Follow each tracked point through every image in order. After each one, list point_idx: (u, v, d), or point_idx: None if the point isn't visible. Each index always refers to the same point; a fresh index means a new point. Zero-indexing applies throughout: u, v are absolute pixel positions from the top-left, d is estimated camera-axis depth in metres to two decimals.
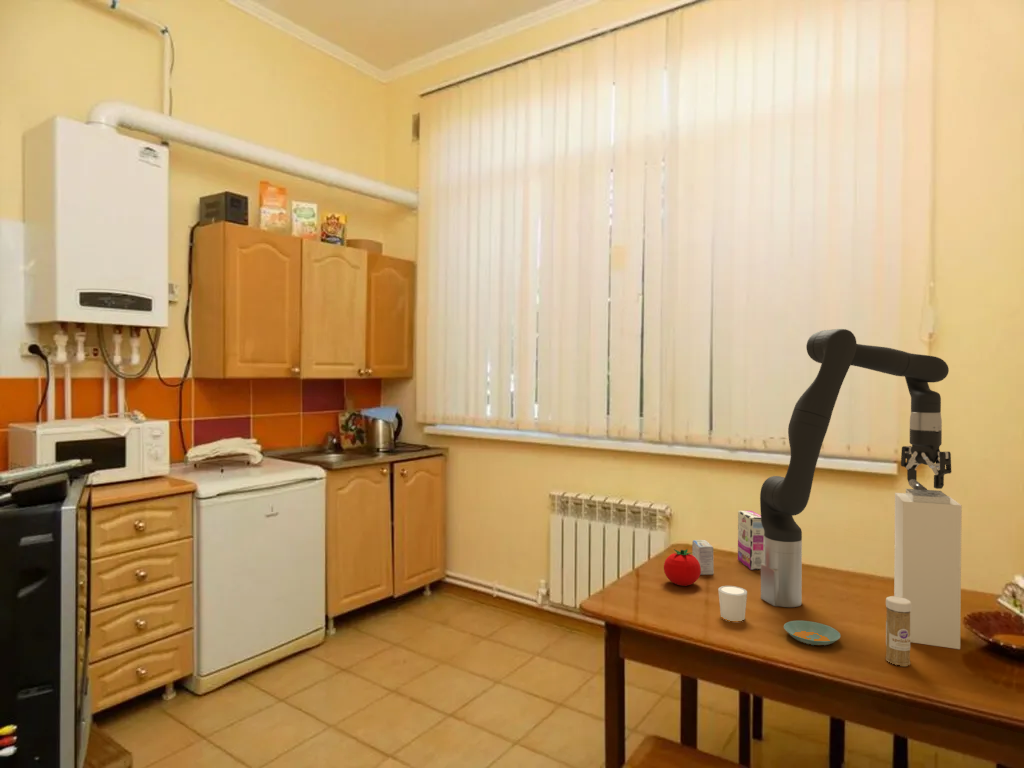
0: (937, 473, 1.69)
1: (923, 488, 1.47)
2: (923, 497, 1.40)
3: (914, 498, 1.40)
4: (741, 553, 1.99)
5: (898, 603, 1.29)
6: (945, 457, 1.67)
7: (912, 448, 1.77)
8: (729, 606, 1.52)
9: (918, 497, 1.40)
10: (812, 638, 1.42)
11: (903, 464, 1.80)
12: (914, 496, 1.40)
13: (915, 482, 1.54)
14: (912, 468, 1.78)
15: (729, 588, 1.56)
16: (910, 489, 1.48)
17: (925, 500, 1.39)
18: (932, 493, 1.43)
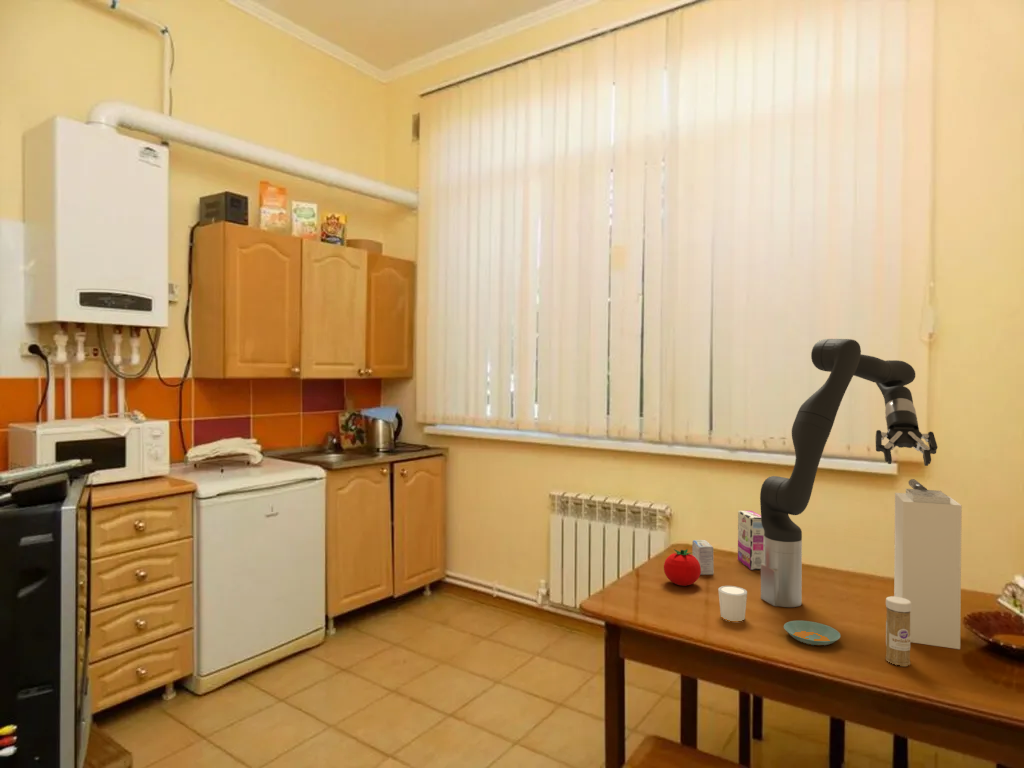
0: (929, 448, 1.67)
1: (923, 488, 1.47)
2: (923, 497, 1.40)
3: (914, 498, 1.40)
4: (741, 553, 1.99)
5: (898, 603, 1.29)
6: None
7: (890, 431, 1.74)
8: (729, 606, 1.52)
9: (918, 497, 1.40)
10: (812, 638, 1.42)
11: (880, 444, 1.72)
12: (914, 496, 1.40)
13: (915, 482, 1.54)
14: None
15: (729, 588, 1.56)
16: (910, 489, 1.48)
17: (925, 500, 1.39)
18: (932, 493, 1.43)
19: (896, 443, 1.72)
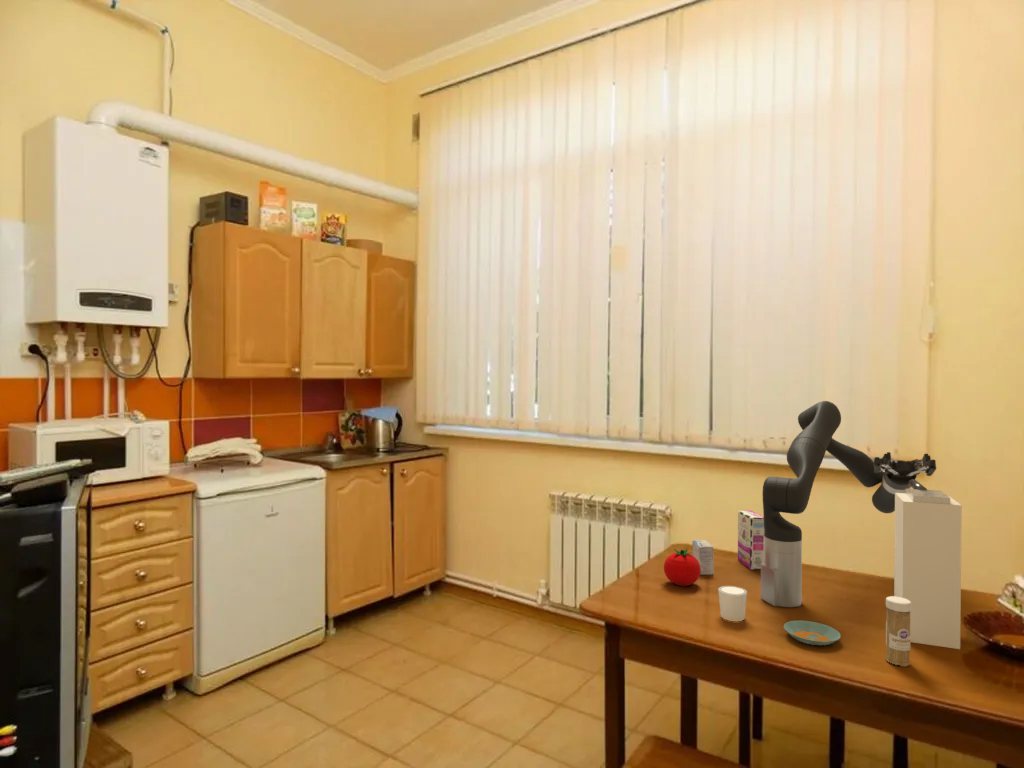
0: None
1: (923, 488, 1.47)
2: (923, 497, 1.40)
3: (914, 498, 1.40)
4: (741, 553, 1.99)
5: (898, 603, 1.29)
6: None
7: None
8: (729, 606, 1.52)
9: (918, 497, 1.40)
10: (812, 638, 1.42)
11: None
12: (914, 496, 1.40)
13: (915, 482, 1.54)
14: None
15: (729, 588, 1.56)
16: (910, 489, 1.48)
17: (925, 500, 1.39)
18: (932, 493, 1.43)
19: (894, 463, 1.71)
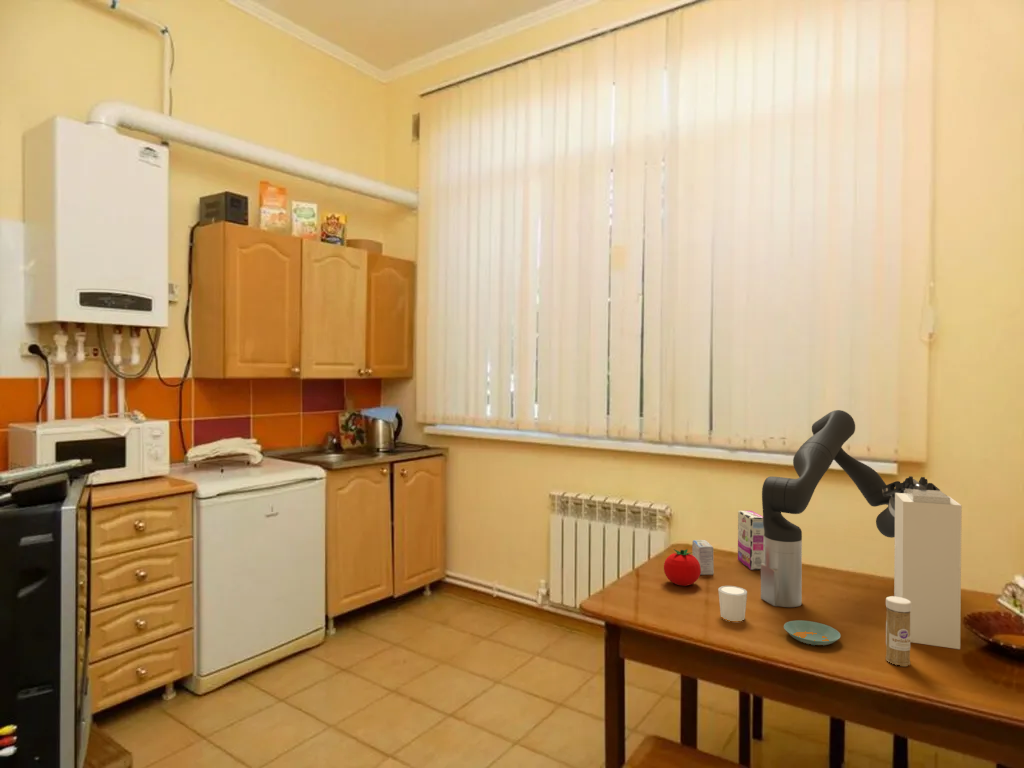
0: None
1: (923, 488, 1.47)
2: (923, 497, 1.40)
3: (914, 498, 1.40)
4: (741, 553, 1.99)
5: (898, 603, 1.29)
6: None
7: None
8: (729, 606, 1.52)
9: (918, 497, 1.40)
10: (812, 638, 1.42)
11: None
12: (914, 496, 1.40)
13: (915, 482, 1.54)
14: None
15: (729, 588, 1.56)
16: (910, 489, 1.48)
17: (925, 500, 1.39)
18: (932, 493, 1.43)
19: None
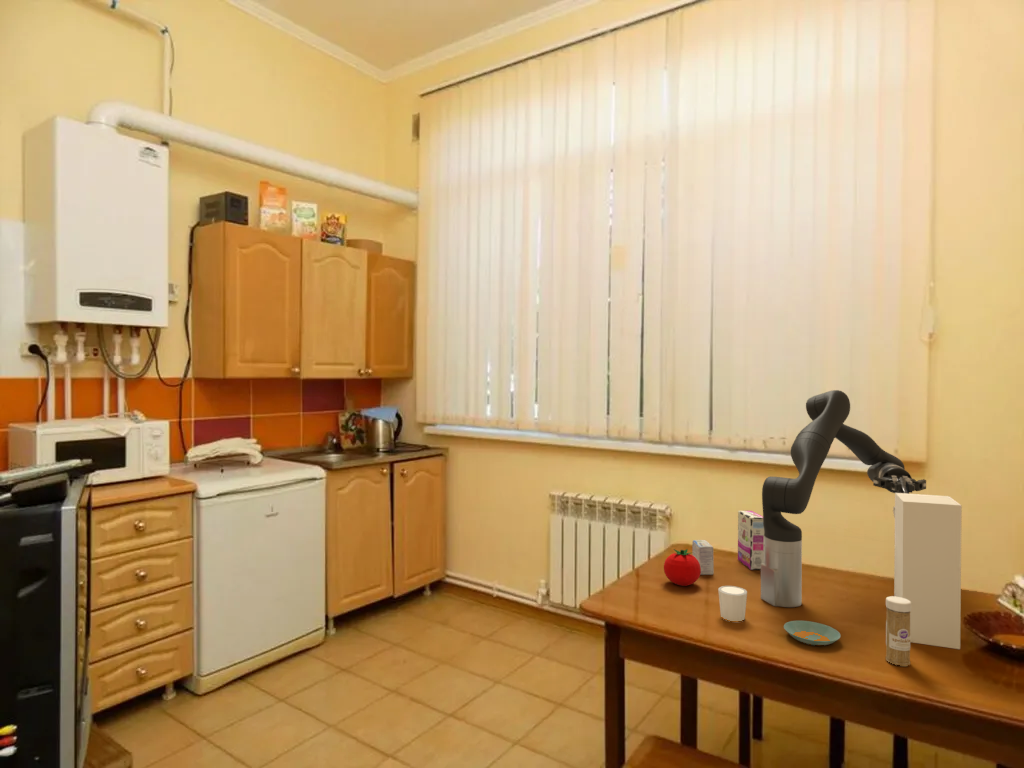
0: (911, 482, 1.70)
1: None
2: None
3: None
4: (741, 553, 1.99)
5: (898, 603, 1.29)
6: (924, 483, 1.73)
7: (884, 477, 1.79)
8: (729, 606, 1.52)
9: None
10: (812, 638, 1.42)
11: (888, 480, 1.74)
12: None
13: (903, 488, 1.68)
14: None
15: (729, 588, 1.56)
16: None
17: None
18: None
19: None
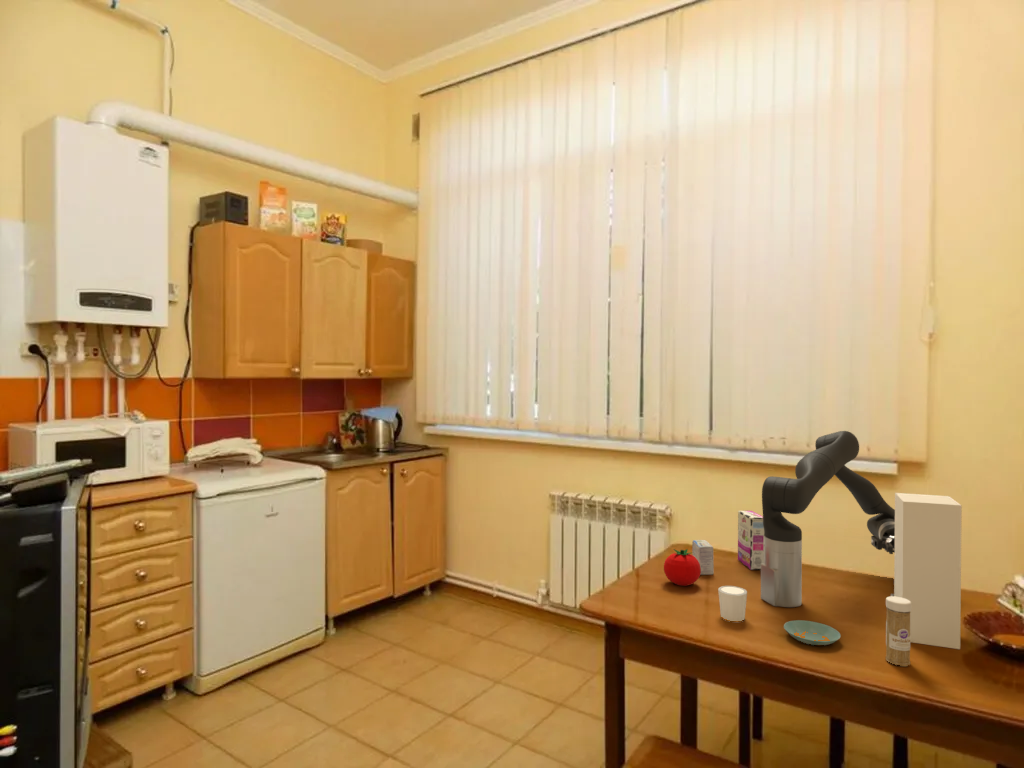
0: None
1: None
2: None
3: None
4: (741, 553, 1.99)
5: (898, 603, 1.29)
6: None
7: (884, 536, 1.79)
8: (729, 606, 1.52)
9: None
10: (812, 638, 1.42)
11: (880, 540, 1.75)
12: None
13: None
14: None
15: (729, 588, 1.56)
16: None
17: None
18: None
19: (893, 543, 1.75)
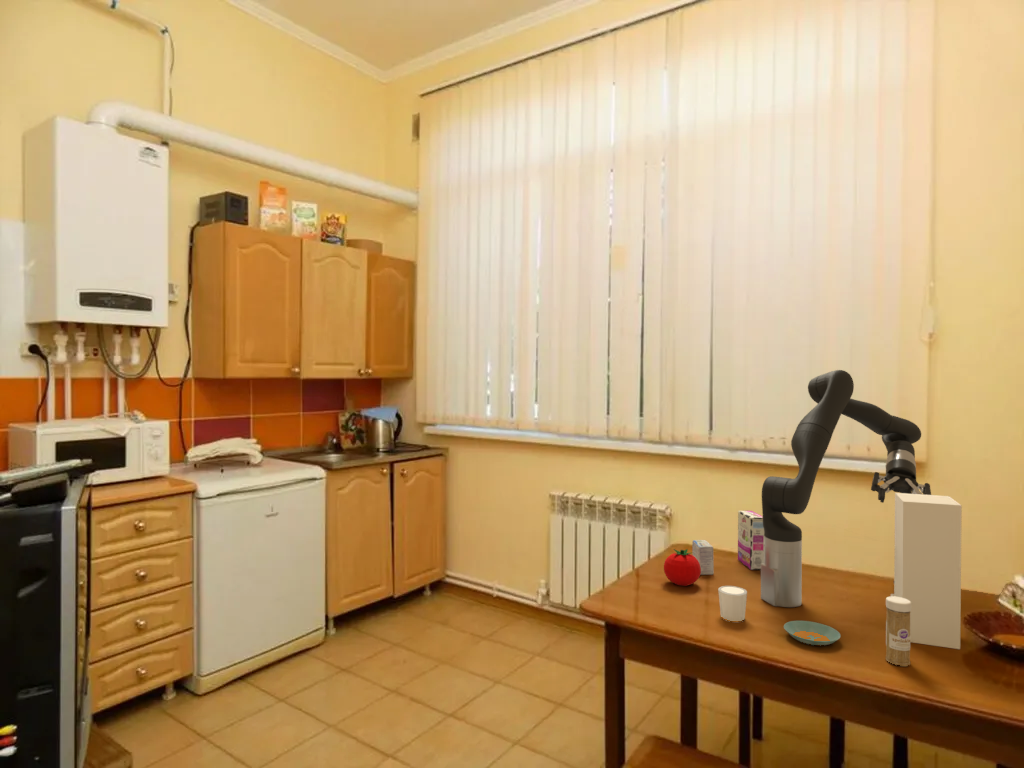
0: None
1: None
2: None
3: None
4: (741, 553, 1.99)
5: (898, 603, 1.29)
6: None
7: (888, 475, 1.78)
8: (729, 606, 1.52)
9: None
10: (812, 638, 1.42)
11: (876, 483, 1.76)
12: None
13: None
14: None
15: (729, 588, 1.56)
16: None
17: None
18: None
19: (892, 486, 1.76)
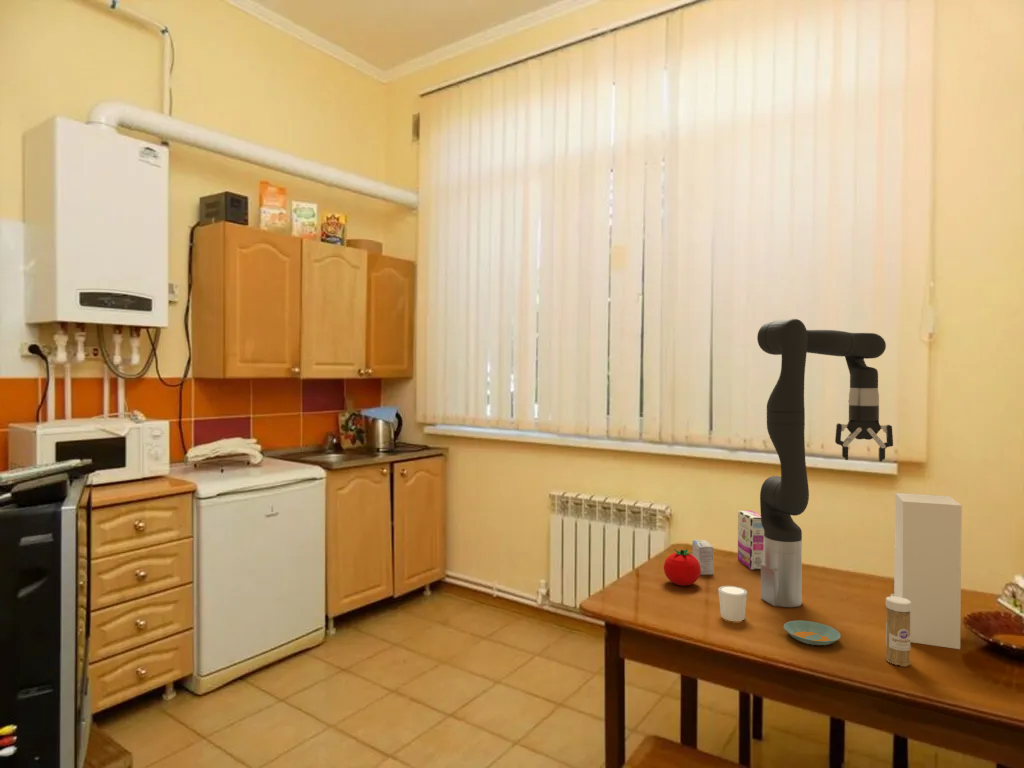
0: (884, 446, 1.74)
1: None
2: None
3: None
4: (741, 553, 1.99)
5: (898, 603, 1.29)
6: None
7: (851, 425, 1.77)
8: (729, 606, 1.52)
9: None
10: (812, 638, 1.42)
11: (839, 442, 1.78)
12: None
13: None
14: None
15: (729, 588, 1.56)
16: None
17: None
18: None
19: (855, 437, 1.77)
